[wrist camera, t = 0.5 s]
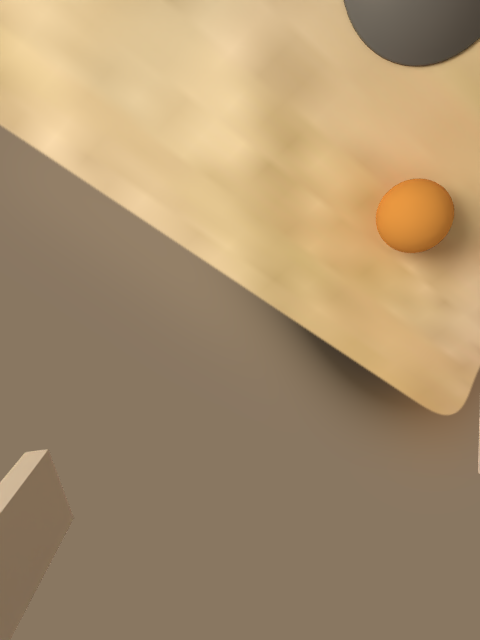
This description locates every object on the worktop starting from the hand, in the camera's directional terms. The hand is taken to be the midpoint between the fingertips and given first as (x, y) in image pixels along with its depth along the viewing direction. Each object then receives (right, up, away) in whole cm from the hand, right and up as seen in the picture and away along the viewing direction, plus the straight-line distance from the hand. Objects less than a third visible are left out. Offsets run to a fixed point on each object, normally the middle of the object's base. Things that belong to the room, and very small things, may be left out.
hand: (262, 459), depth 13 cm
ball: (+13, +12, +19) cm, 26 cm away
